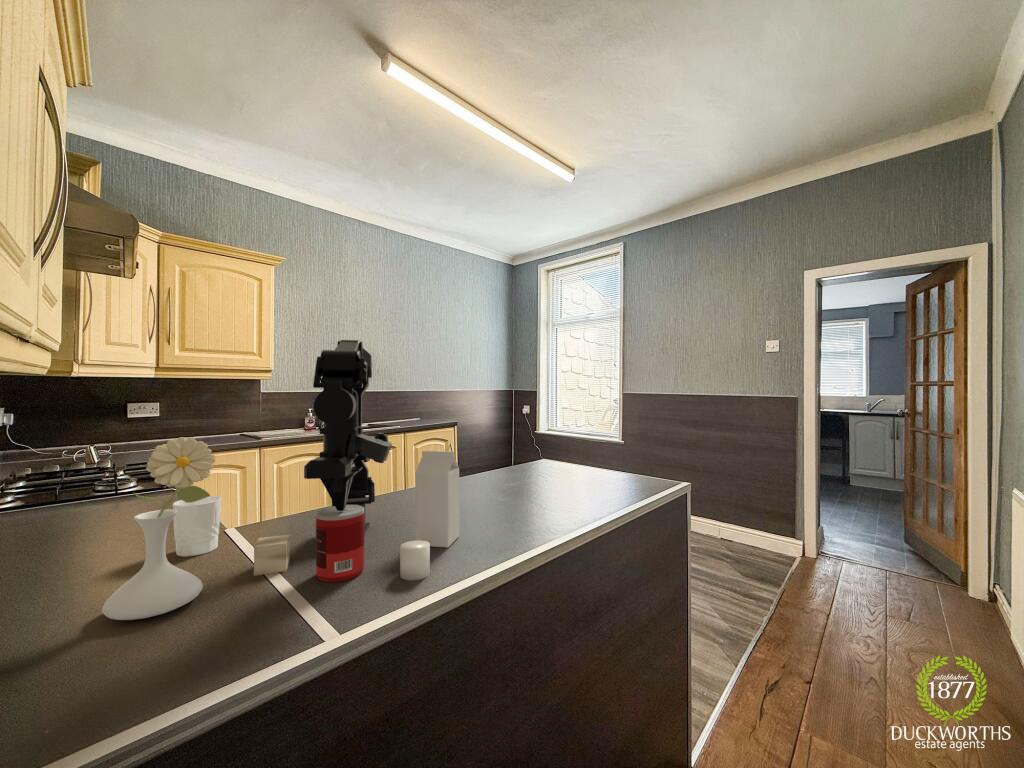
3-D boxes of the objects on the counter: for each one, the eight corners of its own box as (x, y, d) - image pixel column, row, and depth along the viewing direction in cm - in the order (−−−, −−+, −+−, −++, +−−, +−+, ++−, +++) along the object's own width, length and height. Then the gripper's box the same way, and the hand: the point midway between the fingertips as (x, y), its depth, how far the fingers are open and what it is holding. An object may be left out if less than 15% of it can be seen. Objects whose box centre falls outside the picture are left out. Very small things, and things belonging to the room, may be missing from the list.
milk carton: (448, 548, 86) (448, 454, 87) (415, 546, 88) (415, 453, 88) (459, 536, 93) (459, 449, 94) (429, 534, 95) (428, 448, 95)
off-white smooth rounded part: (402, 569, 77) (402, 540, 77) (430, 567, 77) (430, 539, 77) (398, 581, 72) (398, 551, 72) (428, 579, 72) (428, 549, 72)
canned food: (373, 567, 77) (373, 506, 78) (342, 586, 70) (342, 518, 70) (339, 562, 80) (339, 502, 80) (305, 579, 72) (305, 514, 73)
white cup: (225, 550, 86) (225, 500, 87) (176, 561, 81) (176, 508, 81) (215, 540, 92) (215, 494, 92) (168, 551, 86) (169, 501, 86)
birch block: (259, 565, 79) (259, 538, 79) (289, 561, 81) (289, 534, 81) (253, 576, 74) (254, 547, 74) (286, 571, 76) (286, 543, 76)
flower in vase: (84, 637, 56) (86, 444, 56) (122, 598, 66) (124, 436, 66) (205, 615, 61) (206, 439, 61) (222, 583, 71) (223, 432, 72)
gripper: (377, 424, 67) (377, 524, 67) (396, 417, 86) (396, 496, 85) (302, 425, 66) (302, 527, 66) (338, 418, 85) (338, 498, 84)
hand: (340, 510), depth 75 cm, fingers closed, pressing on canned food
